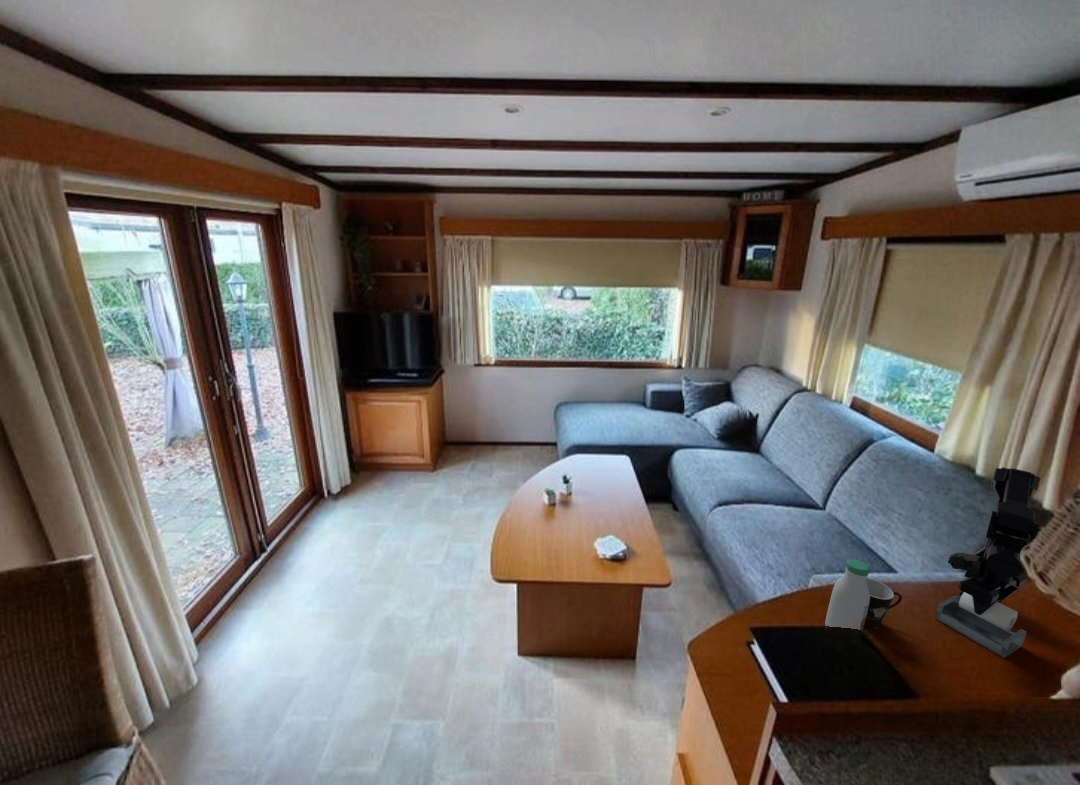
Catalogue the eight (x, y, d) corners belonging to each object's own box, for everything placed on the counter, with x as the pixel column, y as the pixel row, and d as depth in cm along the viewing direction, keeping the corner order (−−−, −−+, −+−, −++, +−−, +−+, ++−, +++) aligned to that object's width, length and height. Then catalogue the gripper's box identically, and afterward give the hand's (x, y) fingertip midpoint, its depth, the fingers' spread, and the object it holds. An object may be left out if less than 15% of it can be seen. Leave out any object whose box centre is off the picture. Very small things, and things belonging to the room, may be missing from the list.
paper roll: (956, 608, 114) (962, 589, 113) (965, 605, 116) (972, 587, 115) (1003, 633, 105) (1011, 613, 104) (1013, 629, 108) (1020, 610, 107)
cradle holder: (951, 608, 121) (956, 595, 119) (1021, 646, 108) (1026, 631, 107) (934, 618, 117) (938, 604, 116) (1004, 658, 105) (1009, 643, 103)
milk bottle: (849, 647, 107) (867, 578, 102) (818, 625, 113) (833, 559, 108) (866, 636, 110) (884, 569, 105) (835, 616, 117) (850, 551, 112)
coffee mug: (848, 624, 114) (856, 592, 111) (843, 603, 121) (850, 573, 119) (903, 641, 109) (913, 607, 106) (894, 618, 116) (903, 587, 114)
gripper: (977, 533, 118) (962, 581, 122) (941, 548, 110) (925, 599, 114) (1035, 556, 108) (1016, 608, 112) (999, 575, 101) (980, 630, 105)
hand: (983, 610), depth 111 cm, fingers closed on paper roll, 5 cm apart
